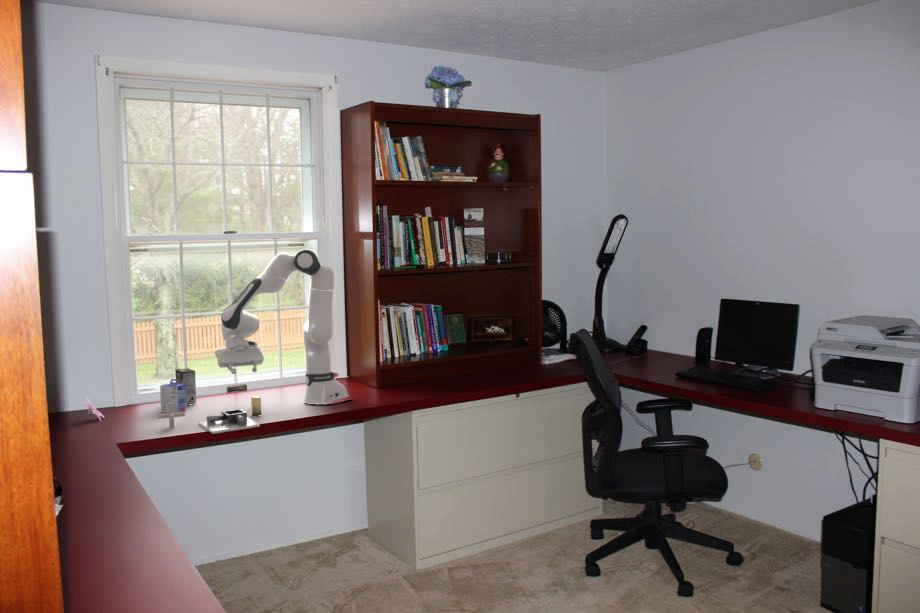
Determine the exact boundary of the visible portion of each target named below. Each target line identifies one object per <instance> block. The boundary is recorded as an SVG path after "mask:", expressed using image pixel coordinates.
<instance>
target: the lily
mask: <svg viewBox="0 0 920 613" xmlns="http://www.w3.org/2000/svg"><path fill="white" fill-rule="evenodd" d="M85 398H86V400H87V402H86V401H84V403H85V405H87V407H88V412H87V414H85V416H84V418H83V419H82V421H83V422H84V421H85V419H86V418H87V416H88V415H89V414H90V415H94V416H96V417H97V418H98V419H99V421H102V419H101V417H102V418H105V416H104V415H103V414H102V413H101V412H100V411H99V410H98V407H96V406H95V405H93V403H92V402H91V400H90V399H89V398H88V396H86V397H85Z"/></svg>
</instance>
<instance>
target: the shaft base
mask: <svg viewBox="0 0 920 613" xmlns="http://www.w3.org/2000/svg"><path fill="white" fill-rule="evenodd" d="M197 423H198V424H199V426H200V427H201V426H202V427H201V428H203V429H204V428H205V429H204V430H206V429H207V430H208V431H207V430H206V431H207V432H209V433H211V434H212V435H214V434H221V433H226V432H233V431H239V430H247V429H253V428H259V427H260V426H261V424H260V423H258V422H257V421H255V420H253V419H251V418H249V417H248V412H247V411H245V410H243V409H242V408H238V409H229V410H223V411H221V414H215V415H208V416H206V420H203V421H198V422H197Z"/></svg>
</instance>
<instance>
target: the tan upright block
mask: <svg viewBox="0 0 920 613" xmlns="http://www.w3.org/2000/svg"><path fill="white" fill-rule="evenodd" d="M250 399H251V404H250V405H251V417H253V416H258V415H261V416H262V396H251V398H250ZM258 417H259V416H258Z"/></svg>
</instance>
